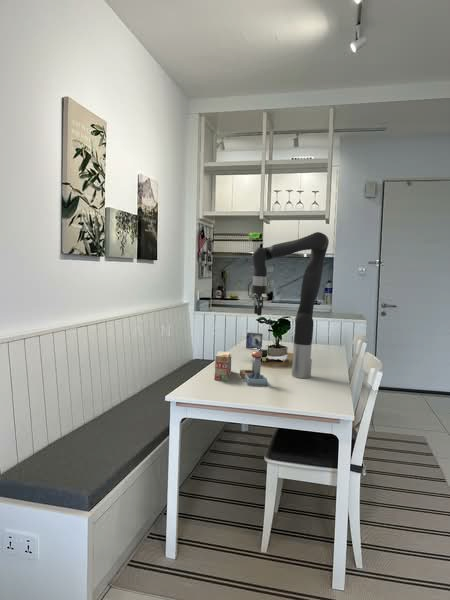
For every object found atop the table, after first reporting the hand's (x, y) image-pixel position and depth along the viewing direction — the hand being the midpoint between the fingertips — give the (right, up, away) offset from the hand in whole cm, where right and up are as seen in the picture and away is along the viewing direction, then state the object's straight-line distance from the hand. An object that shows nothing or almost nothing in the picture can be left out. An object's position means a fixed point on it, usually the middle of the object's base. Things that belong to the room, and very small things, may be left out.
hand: (257, 314), depth 259 cm
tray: (-3, -32, -29) cm, 43 cm away
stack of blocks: (-19, -31, -16) cm, 40 cm away
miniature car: (+10, -29, +29) cm, 42 cm away
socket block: (-5, -31, -18) cm, 37 cm away
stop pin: (-3, -31, -28) cm, 42 cm away
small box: (+2, -26, +66) cm, 71 cm away
